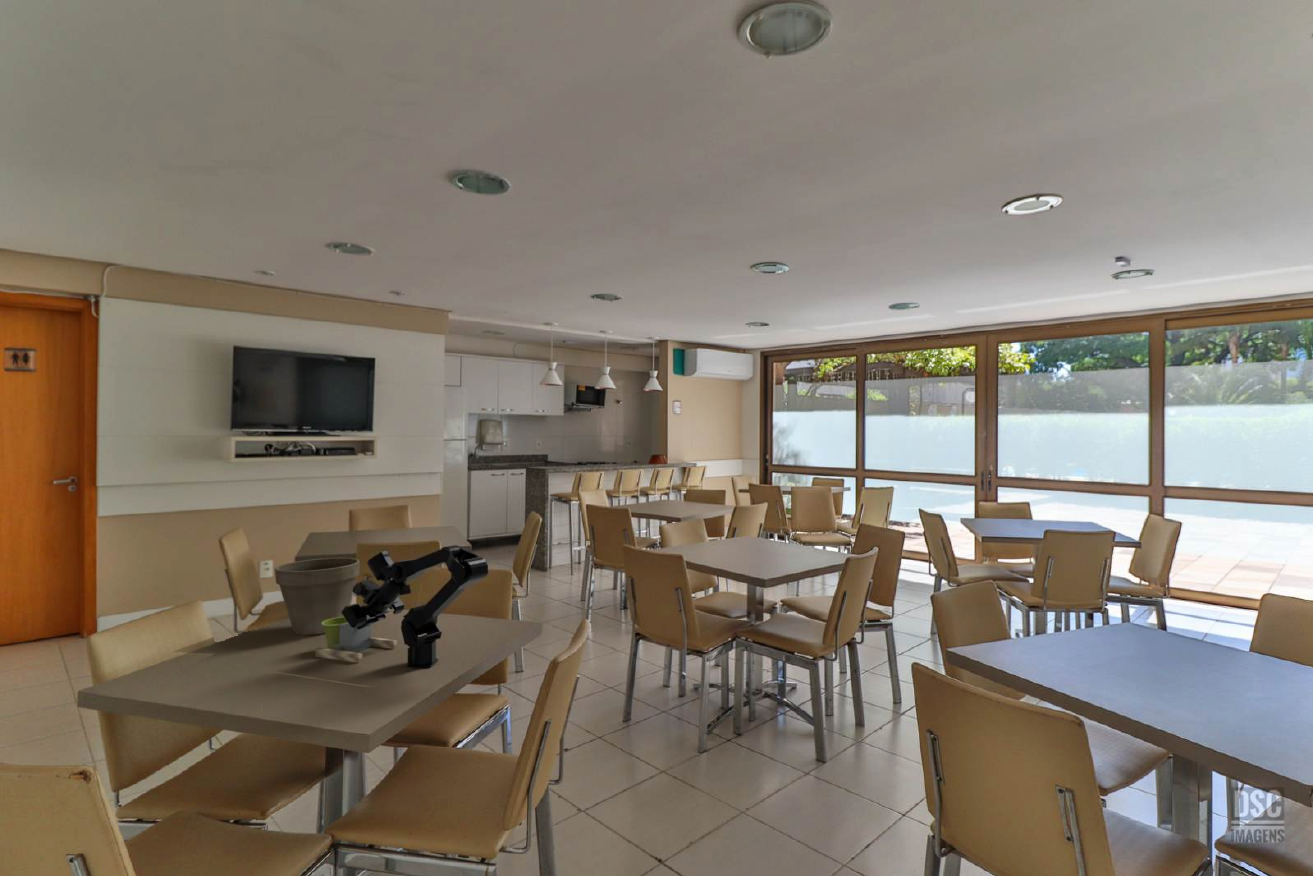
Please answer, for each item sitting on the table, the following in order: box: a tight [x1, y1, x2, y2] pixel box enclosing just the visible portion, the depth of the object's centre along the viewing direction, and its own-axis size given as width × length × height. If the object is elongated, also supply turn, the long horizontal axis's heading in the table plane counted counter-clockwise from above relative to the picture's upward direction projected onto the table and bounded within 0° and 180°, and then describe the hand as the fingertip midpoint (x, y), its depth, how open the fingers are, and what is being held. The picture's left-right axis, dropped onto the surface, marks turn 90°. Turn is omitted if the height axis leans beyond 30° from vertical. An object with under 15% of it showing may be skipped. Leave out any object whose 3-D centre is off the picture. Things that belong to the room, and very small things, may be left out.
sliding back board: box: [334, 622, 372, 653], centre depth 191 cm, size 4×10×9 cm, turn 159°
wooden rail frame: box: [315, 636, 398, 663], centre depth 190 cm, size 16×14×2 cm
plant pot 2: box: [322, 617, 347, 649], centre depth 193 cm, size 9×9×9 cm
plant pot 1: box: [274, 557, 361, 636], centre depth 216 cm, size 25×25×22 cm
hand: (358, 628), depth 191 cm, fingers closed, pressing on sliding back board
